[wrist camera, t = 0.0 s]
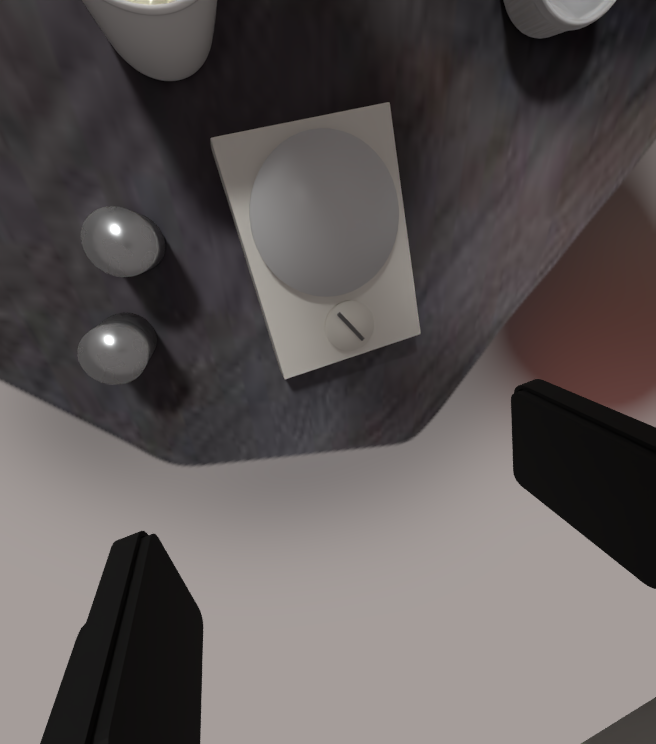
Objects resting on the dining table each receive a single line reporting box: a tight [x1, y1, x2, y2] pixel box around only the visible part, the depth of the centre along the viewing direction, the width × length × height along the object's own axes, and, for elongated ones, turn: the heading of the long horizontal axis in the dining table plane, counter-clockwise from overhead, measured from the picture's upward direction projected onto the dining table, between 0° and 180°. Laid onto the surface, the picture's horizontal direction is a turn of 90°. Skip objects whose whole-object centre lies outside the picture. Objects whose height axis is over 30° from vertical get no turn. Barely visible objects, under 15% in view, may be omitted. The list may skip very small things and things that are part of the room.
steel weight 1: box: [81, 207, 165, 277], centre depth 30 cm, size 5×5×6 cm
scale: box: [210, 102, 421, 379], centre depth 36 cm, size 22×16×4 cm
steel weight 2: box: [78, 313, 157, 385], centre depth 32 cm, size 5×5×6 cm
